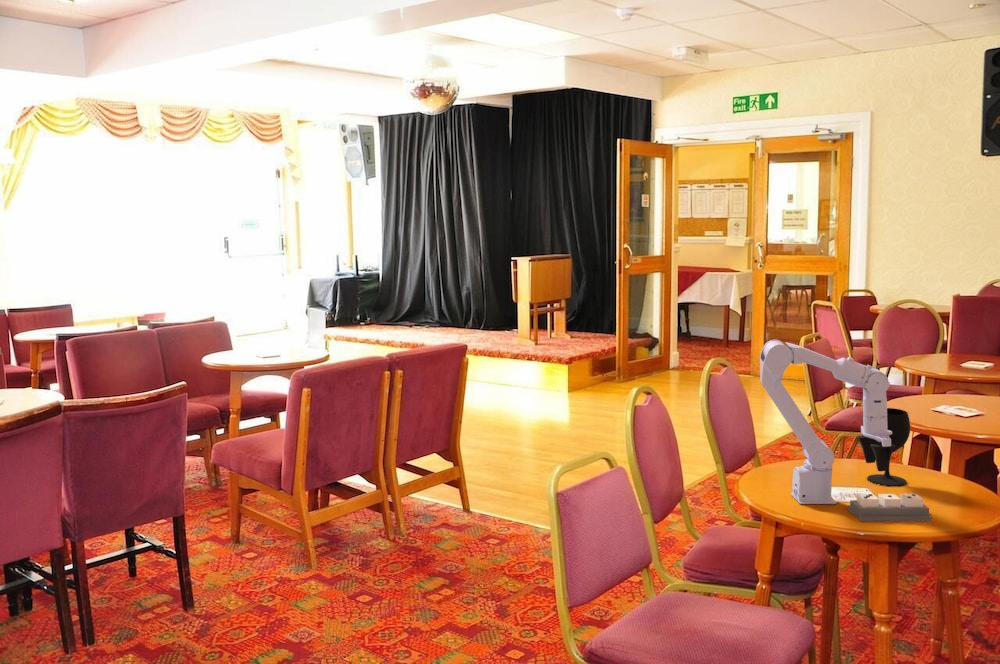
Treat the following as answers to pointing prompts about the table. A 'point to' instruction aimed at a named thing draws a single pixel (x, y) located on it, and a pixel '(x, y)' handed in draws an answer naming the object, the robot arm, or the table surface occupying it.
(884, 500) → the tile one
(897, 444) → the wine glass
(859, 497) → the tile three
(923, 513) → the tile board
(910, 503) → the tile two
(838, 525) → the table surface
